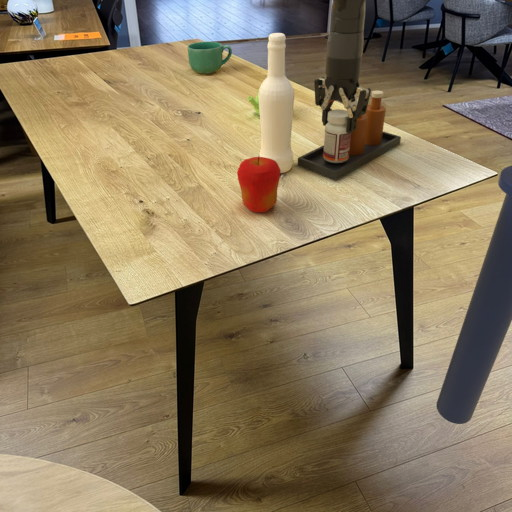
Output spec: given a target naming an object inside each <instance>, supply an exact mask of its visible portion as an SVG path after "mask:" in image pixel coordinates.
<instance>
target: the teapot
mask: <svg viewBox="0 0 512 512" xmlns="http://www.w3.org/2000/svg"><path fill="white" fill-rule="evenodd" d="M259 89H260V87H258V89H257V94H256V96H255V98H254V97H253V96H252V95H250V96H249V97H247V101H248V102H249V103H250V104H251V105H252V107H253V110H254V111H255V112H256V113H257V115H258V116H260V112H259V99H258V94H259Z"/></svg>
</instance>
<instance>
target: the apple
mask: <svg viewBox="0 0 512 512" xmlns="http://www.w3.org/2000/svg"><path fill="white" fill-rule="evenodd" d="M236 173H237V180H238V181H237V182H238V184H239V187H240V192H241V193H240V194H241V201H242V204H243V205H244V206H245V207H246V208H247V209H248V210H249V211H251V212H253V213H266V212H268V211H269V210H271V209H272V208H273V207H274V206H275V205H276V204H277V201H278V188H279V183H280V178H281V174H280V168H279V166H278V164H277V162H276V161H275V160H272V159H269V158H264V157H259V156H254V157H253V156H252V157H250V158H246V159H244V160H243V161H241V162H240V164H239V167H238V169H237V171H236Z"/></svg>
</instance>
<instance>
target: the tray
mask: <svg viewBox="0 0 512 512" xmlns="http://www.w3.org/2000/svg"><path fill="white" fill-rule="evenodd" d="M401 140H402V136H401V135H397V134H393V133H389V132H387V131H383V133H382V140H381V144H379V145H375V146H370V145H365V144H364V152H363V153H362V154H361V155H349V158H348V160H347V161H345V162H343V163H331V162H328V161H326V160H325V159H324V157H323V153H324V144H323V145H321V146H319V147H316V148H314V149H313V150H311V151H309V152H307V153H305V154H302V155H301V156H299V157H297V167H299V168H303V169H305V170H308V171H310V172H311V173H315V174H317V175H321V176H322V177H326V178H328V179H330V180H333V181H338V180H340V179H342V178H343V177H345V176H347V175H348V174H350V173H352V172H355V170H358V169H359V168H361V167H363V166H365V165H366V164H368V163H370V162H371V161H373V160H375V159H377V158H379V157H380V156H382V155H384V154H385V153H387V152H389V151H390V150H391V151H392V149H394V148H396V147H398V146H399V145H401Z"/></svg>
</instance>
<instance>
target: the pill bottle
mask: <svg viewBox="0 0 512 512" xmlns="http://www.w3.org/2000/svg"><path fill="white" fill-rule="evenodd" d="M348 117H349V116H348V113H347V109H332V110H331V111H329V112H328V119H327V120H328V123H327V124H326V126H324V140H323V145H324V153H323V157H324V159H325V160H326V161H328V162H331V163H343V162H345V161H347V160H348V158H349V149H350V139H351V133H347V132H346V129H347V119H348Z"/></svg>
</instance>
